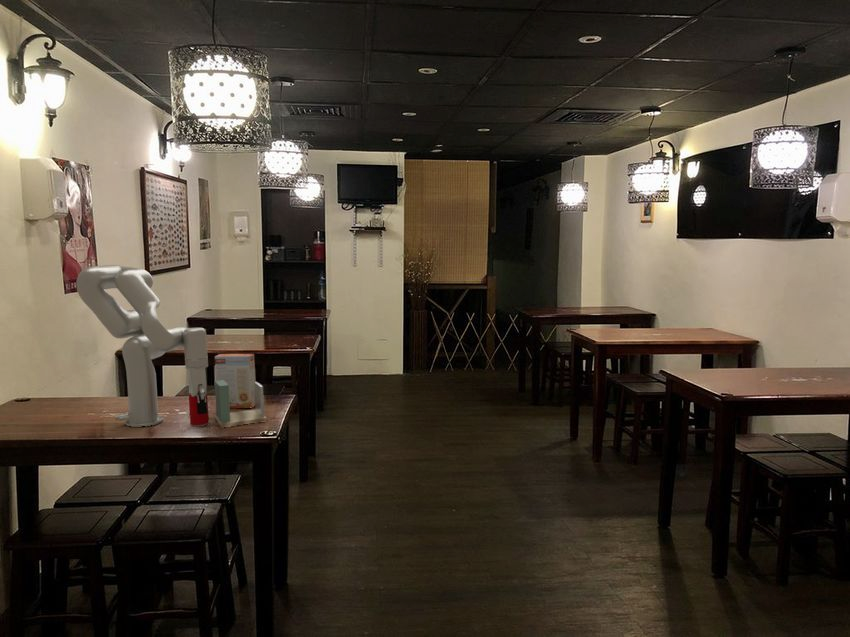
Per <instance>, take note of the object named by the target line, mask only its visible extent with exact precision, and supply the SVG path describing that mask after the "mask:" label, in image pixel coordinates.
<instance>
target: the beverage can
mask: <svg viewBox="0 0 850 637" xmlns="http://www.w3.org/2000/svg"><path fill="white" fill-rule="evenodd" d="M205 397H206V402H207V413H206V414H198V413H197V403H198V402H197V396H195V397H192V396H191V393H189V395H188V406H189V407H188V408H189V424H190V425H191V426H192V427H194V426H201V427H204V425H205V426H207V425H208V424H209V422H210V421H209V402H208V401H209V399H208V394H207V395H206V396H205Z"/></svg>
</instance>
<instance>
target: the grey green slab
mask: <svg viewBox="0 0 850 637" xmlns="http://www.w3.org/2000/svg"><path fill="white" fill-rule="evenodd" d="M214 394H215V414H216V416H217V417H218V419H219V420H220V421H221V422H228V421H230V413H231V408H230V405H229V385H228V384H227V383H226V382H225V381H224V380H217V381H216V380H214Z"/></svg>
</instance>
